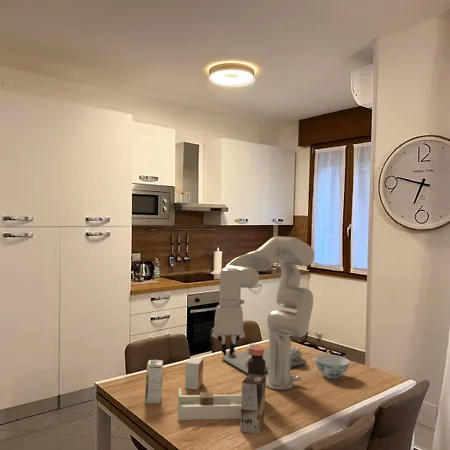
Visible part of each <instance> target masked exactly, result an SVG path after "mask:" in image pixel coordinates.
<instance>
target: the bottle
mask: <svg viewBox="0 0 450 450" xmlns="http://www.w3.org/2000/svg"><path fill="white" fill-rule="evenodd" d="M264 349H265V348H263V347H261V346H259V347H258V346H257V347H252V348H251V356H252V357H251V358H250V359H249V360H248V374H253V375H254V374H255V375H262V376H266V372H265V365H266V362H265V360H264V359H263V354H264ZM248 374H247V375H248Z"/></svg>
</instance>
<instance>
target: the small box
mask: <svg viewBox="0 0 450 450" xmlns="http://www.w3.org/2000/svg"><path fill="white" fill-rule="evenodd" d="M184 374H185V375H184V377H185V378H184V379H185V381H184V388H185V389H190V390H196V391H197V390H199V388H201V386H202V384H203V375H204V358H203V357H202V358H201V357H190V358H189V359H188V360H187V361H186V362H185V373H184Z"/></svg>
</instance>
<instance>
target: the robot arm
mask: <svg viewBox="0 0 450 450" xmlns="http://www.w3.org/2000/svg"><path fill="white" fill-rule="evenodd" d="M314 260H315V251H314V250H313V247H311V246H310V245H309V244H308V243H307V242H304V241H302V239H299V238H297V237H293V236H292V237H291V236H280V235H279V236H273V237H271V238H270V239H269V240H267V241H266V242H265V243H264V244H262V245H261V246H260V247H258V249H256V250H254V251H251V252H248V253H246V254H242V255H240V256H238V257H236V258H234V259H232V260H231V261H230V262H229V263H228V264H226V266H225V267H223V268H222V269H221V270H220V272H219V273H220V274H219V299H218V300H219V301H218V303H219V304H218V305H217V306H216V309H215V315H214V323H213V324H214V325H213V331H212V334H211V337H212V338H215V339H217V340H218V341H219V342H220V343H221V353H222V354H223V356H224V355H227V347H228V345H227V343H226V336H231V339H230V342H229V349H230V350H228V351H229V353H230V355H233V352H234V351H235V350H234V349H235V345H236V343H237V342H238V341H239V340H240V339H243V338H245V337H246V333H245V331H244V315H243V312H244V311H243V307H242V306H241V305H242V304H243V305H244V304H245V300H244V299H242V298H241V292H242V291H241V289H242V288H246V289H251V288H254V287H255V286H257V284H258V283H259V281H260V274H259V272H258V271H264V270H267V269H270V268H271V267H272V266H273V265H275V263H276V262H278V265H279V267H280V272H281V273H280V274H281V275H280V280H279V284H278V289H277V293H276V304H277V306H279V307H281V308H284V309H291V310H296V312H292V311H289V310H284V309H274V310H272V311H270V312H269V313H268V315H267V318H266V320H267V321H266V324H267V329H268V348H269V352H268V372H267V377H266V388H269V389H272V390H275V391H276V390H279V391H285V390H286V391H287V390H290V389H292V388H294V382H301V381H302V376H301V375H299V376H298V375H296V374H291V367H290V366H291V349H292V348H291V347H292V341H291V339H290V336H293V337H296V338H303V337H304V336H305V335H306V334H307V332H308V330H309V324H310V320H311V316H312V312H313V311H312V310H313V306H314V296H313V295H314V294H313V293H312V291H311V290H310V289H309V288H307V287H306V288H305V287H300V285H301V284H300V283H301V280H302V279H301V273H300V270H299V269H298V267H297V266H303V267H306V266H310V265H312V263H313V262H314ZM234 353H235V352H234Z"/></svg>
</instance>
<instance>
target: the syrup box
mask: <svg viewBox="0 0 450 450" xmlns="http://www.w3.org/2000/svg"><path fill="white" fill-rule="evenodd" d="M163 365H164V360H161V359H160V360H159V359H149V360H148V362H147V365H146V374H145V375H146V377H145V395H144V403H145V404H161V400H162V394H163V393H162V391H163V388H162V387H163V367H164V366H163Z"/></svg>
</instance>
